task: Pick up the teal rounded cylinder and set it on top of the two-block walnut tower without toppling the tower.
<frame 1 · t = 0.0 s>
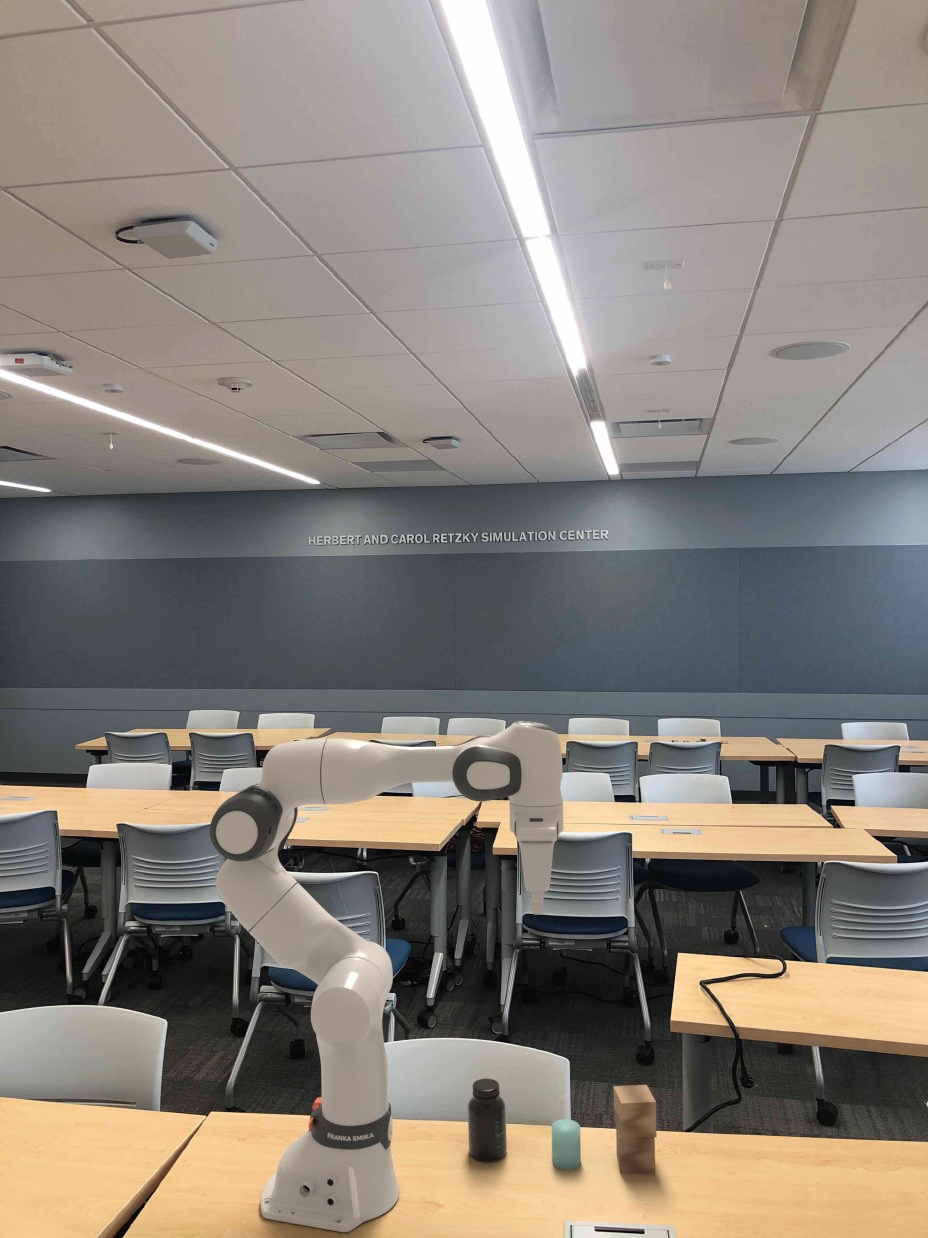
hand: (537, 905, 146), 48 cm above the table, tool pointing down, fingers open, 8 cm apart
tower base: (635, 1164, 155), on the table, touching tower top
teal rounded cylinder: (566, 1161, 156), on the table
supplement bottle: (487, 1153, 159), on the table
tower top: (634, 1129, 155), point 6 cm above the table, touching tower base
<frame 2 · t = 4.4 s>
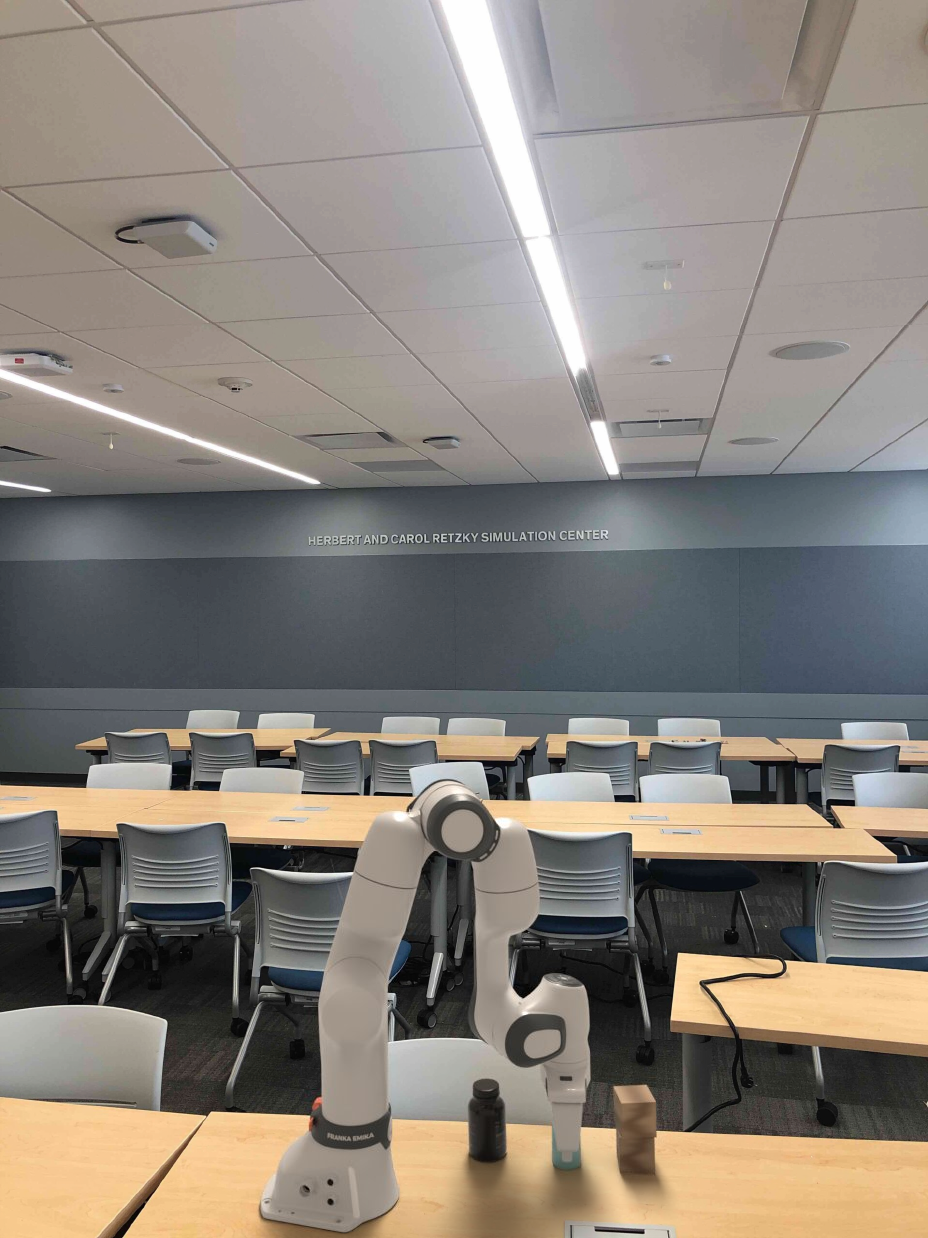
hand: (566, 1149, 156), 2 cm above the table, tool pointing down, fingers closed on teal rounded cylinder, 5 cm apart
teal rounded cylinder: (566, 1161, 156), on the table, touching gripper
everything else where it was.
when the fingers open (15 cm above the table, at t = 8.3 s): teal rounded cylinder drops 1 cm, resting on tower top.
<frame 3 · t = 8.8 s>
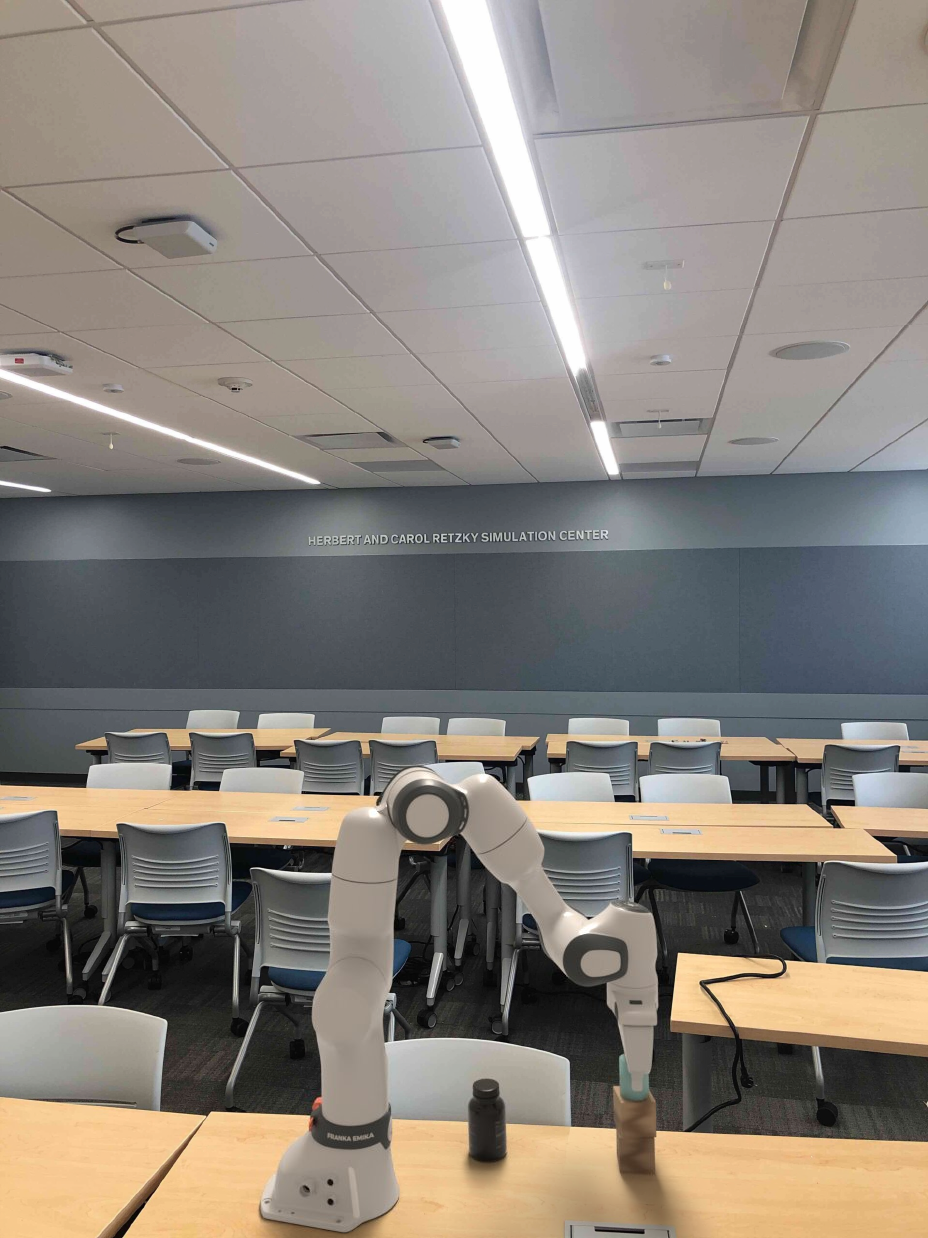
hand: (633, 1076, 156), 15 cm above the table, tool pointing down, fingers open, 8 cm apart
teal rounded cylinder: (634, 1094, 156), point 12 cm above the table, touching tower top
tower top: (634, 1129, 155), point 6 cm above the table, touching teal rounded cylinder, tower base
everything else where it was.
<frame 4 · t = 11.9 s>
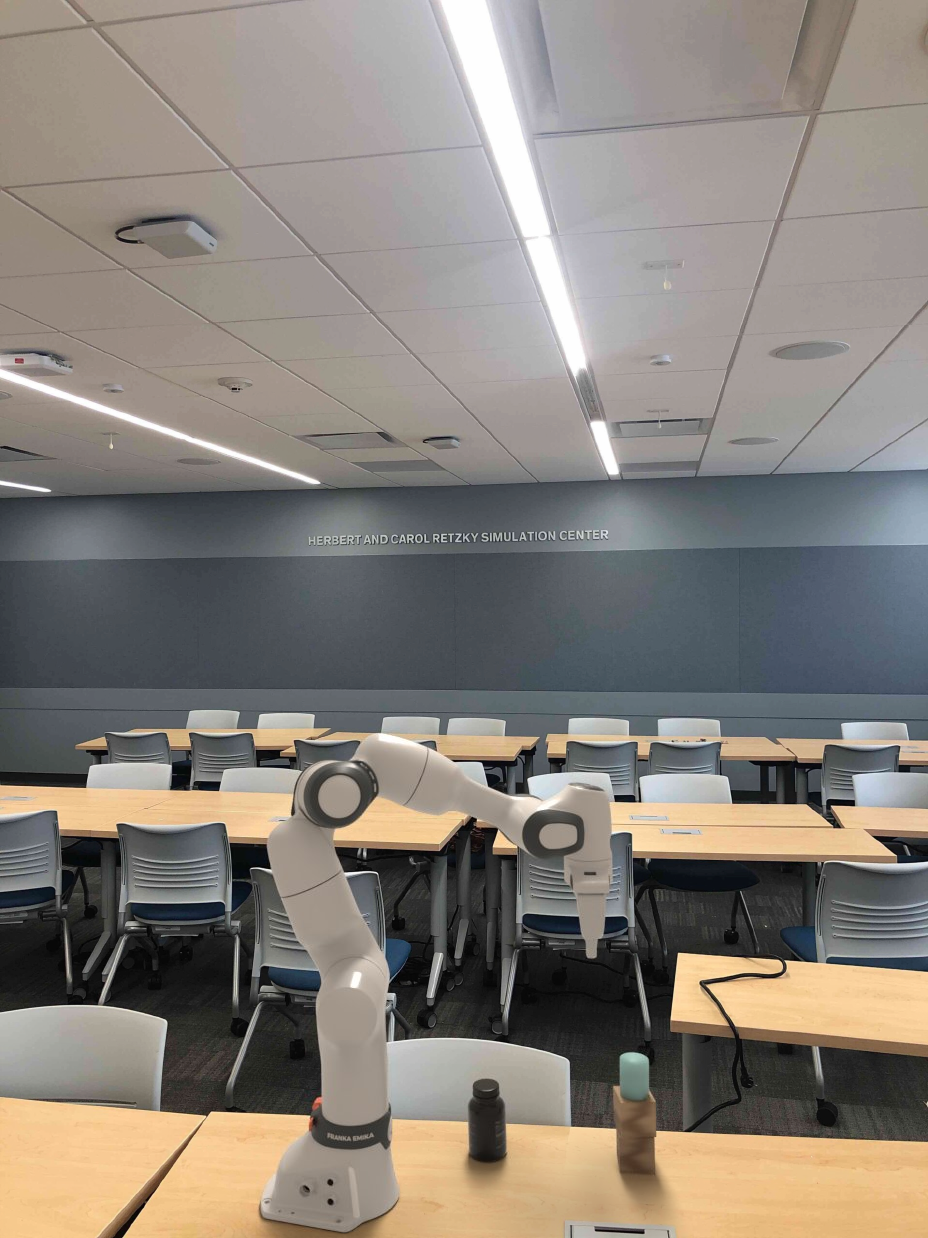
hand: (589, 948, 163), 35 cm above the table, tool pointing down, fingers open, 8 cm apart
tower base: (635, 1164, 155), on the table
tower top: (634, 1128, 155), point 6 cm above the table, touching teal rounded cylinder
everything else where it was.
at the end: teal rounded cylinder 0.0 cm off-centre on the tower base, point 12.0 cm above the tower base's base; tower top tilted 0°; the gripper is holding nothing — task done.
